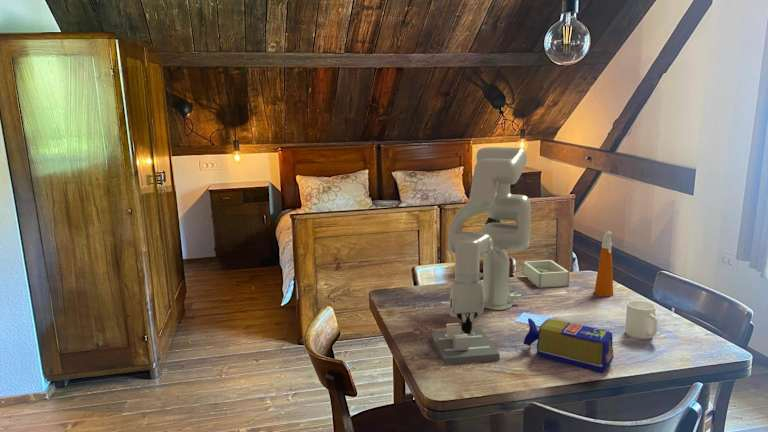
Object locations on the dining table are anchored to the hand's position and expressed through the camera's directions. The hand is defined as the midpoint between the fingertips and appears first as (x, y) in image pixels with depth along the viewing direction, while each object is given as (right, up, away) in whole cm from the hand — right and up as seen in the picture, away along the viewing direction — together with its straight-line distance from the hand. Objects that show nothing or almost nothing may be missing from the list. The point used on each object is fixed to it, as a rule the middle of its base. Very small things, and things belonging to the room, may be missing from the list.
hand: (466, 332), depth 170 cm
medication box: (+44, +9, +61) cm, 76 cm away
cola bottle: (+23, +12, +74) cm, 78 cm away
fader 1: (-4, -2, 0) cm, 4 cm away
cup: (+57, -2, +3) cm, 57 cm away
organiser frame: (+43, +9, +60) cm, 74 cm away
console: (-1, -4, -3) cm, 6 cm away
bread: (+28, -6, -11) cm, 31 cm away
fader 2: (-3, -3, -8) cm, 9 cm away
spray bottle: (+61, +6, +40) cm, 73 cm away
